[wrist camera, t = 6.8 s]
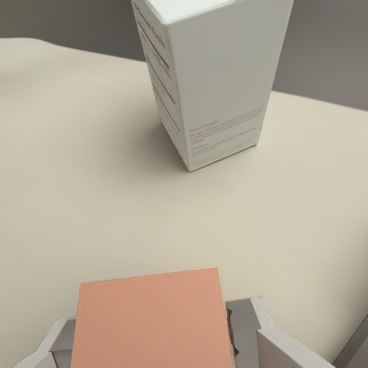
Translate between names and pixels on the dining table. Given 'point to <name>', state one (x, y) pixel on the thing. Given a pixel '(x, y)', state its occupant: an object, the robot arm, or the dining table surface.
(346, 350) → the build plinth
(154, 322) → the block
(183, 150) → the supplement box
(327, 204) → the dining table surface
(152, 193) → the dining table surface
